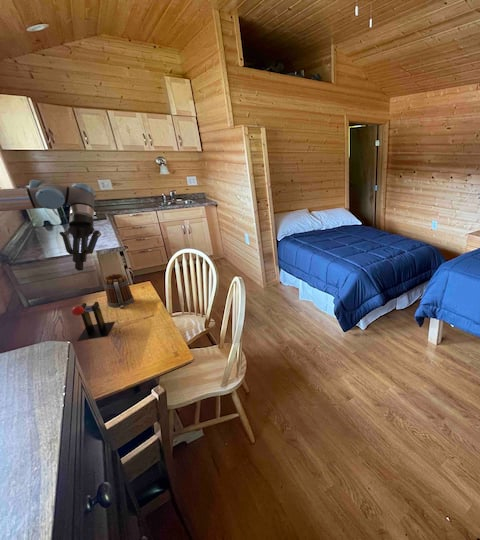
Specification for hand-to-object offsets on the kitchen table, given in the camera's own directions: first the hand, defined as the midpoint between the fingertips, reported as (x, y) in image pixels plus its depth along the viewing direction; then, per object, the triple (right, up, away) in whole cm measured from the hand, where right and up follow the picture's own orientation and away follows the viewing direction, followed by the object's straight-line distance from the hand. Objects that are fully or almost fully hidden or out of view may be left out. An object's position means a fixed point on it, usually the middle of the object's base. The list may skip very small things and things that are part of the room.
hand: (79, 269), depth 118 cm
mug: (-7, -19, +31) cm, 36 cm away
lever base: (-1, -27, +10) cm, 29 cm away
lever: (+2, -18, 0) cm, 18 cm away
